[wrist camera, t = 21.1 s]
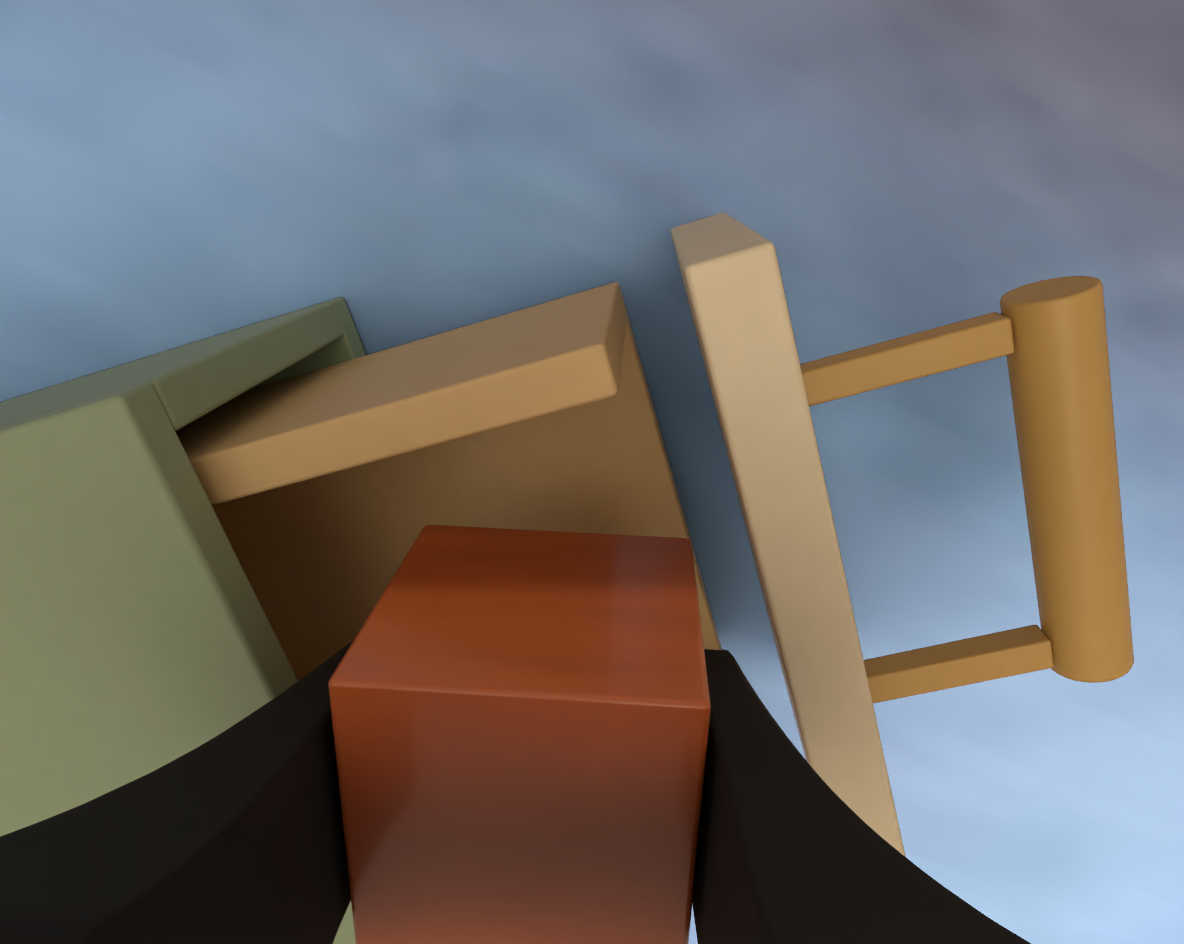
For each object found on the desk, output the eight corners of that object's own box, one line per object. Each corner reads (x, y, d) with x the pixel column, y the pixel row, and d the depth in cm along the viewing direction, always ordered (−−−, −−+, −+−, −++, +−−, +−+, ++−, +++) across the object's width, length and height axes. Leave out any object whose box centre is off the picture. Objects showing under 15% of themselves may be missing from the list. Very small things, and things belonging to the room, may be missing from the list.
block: (423, 522, 13) (324, 681, 9) (691, 536, 13) (712, 705, 9) (434, 740, 15) (354, 959, 11) (674, 755, 15) (685, 984, 11)
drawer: (970, 137, 16) (1183, 120, 10) (1033, 624, 20) (1218, 844, 13) (118, 394, 19) (-145, 510, 13) (312, 773, 23) (182, 1011, 16)
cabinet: (344, 295, 19) (119, 394, 11) (516, 730, 23) (445, 1037, 15) (-197, 462, 21) (-709, 644, 13) (45, 828, 25) (-233, 1136, 17)
